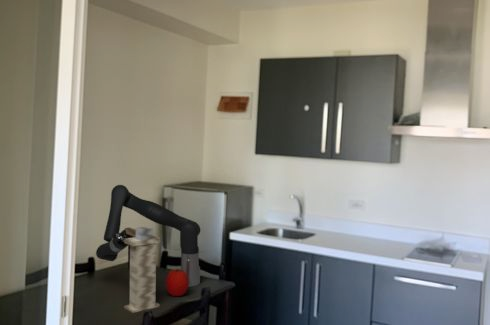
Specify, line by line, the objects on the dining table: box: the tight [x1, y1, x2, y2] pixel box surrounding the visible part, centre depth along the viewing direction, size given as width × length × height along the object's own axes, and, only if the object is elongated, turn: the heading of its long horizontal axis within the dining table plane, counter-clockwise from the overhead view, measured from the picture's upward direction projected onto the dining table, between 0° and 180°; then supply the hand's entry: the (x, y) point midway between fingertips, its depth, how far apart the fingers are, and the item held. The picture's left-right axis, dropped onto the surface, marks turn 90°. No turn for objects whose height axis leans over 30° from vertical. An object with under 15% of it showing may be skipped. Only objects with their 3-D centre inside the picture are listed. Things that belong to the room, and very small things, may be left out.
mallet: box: [124, 226, 154, 241], centre depth 241 cm, size 6×19×5 cm, turn 40°
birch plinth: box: [123, 235, 161, 314], centre depth 238 cm, size 14×8×32 cm, turn 130°
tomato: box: [165, 268, 189, 297], centre depth 256 cm, size 12×12×13 cm
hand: (133, 230), depth 243 cm, fingers open, 8 cm apart
